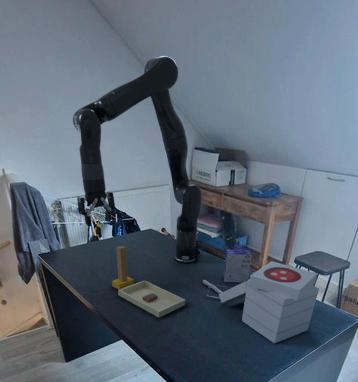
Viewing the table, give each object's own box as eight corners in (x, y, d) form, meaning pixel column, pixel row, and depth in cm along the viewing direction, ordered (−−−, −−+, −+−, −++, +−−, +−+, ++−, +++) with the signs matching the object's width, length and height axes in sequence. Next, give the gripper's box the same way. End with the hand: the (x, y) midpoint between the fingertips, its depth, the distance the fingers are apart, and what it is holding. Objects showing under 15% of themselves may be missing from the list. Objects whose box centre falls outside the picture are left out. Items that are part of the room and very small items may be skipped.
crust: (142, 299, 120) (142, 296, 119) (152, 295, 123) (152, 292, 122) (148, 302, 118) (148, 299, 117) (157, 298, 121) (157, 295, 120)
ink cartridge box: (246, 277, 141) (251, 244, 133) (248, 283, 136) (253, 248, 128) (222, 276, 141) (226, 243, 133) (224, 282, 136) (228, 248, 128)
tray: (118, 296, 123) (118, 290, 121) (144, 286, 131) (144, 280, 129) (158, 319, 110) (158, 312, 109) (185, 306, 118) (185, 299, 117)
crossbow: (242, 298, 127) (243, 293, 126) (215, 306, 121) (216, 301, 120) (216, 279, 137) (217, 275, 136) (190, 286, 132) (191, 281, 130)
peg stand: (112, 288, 129) (109, 247, 120) (127, 282, 133) (124, 243, 125) (119, 291, 126) (116, 251, 118) (134, 286, 131) (132, 246, 122)
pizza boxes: (252, 293, 128) (259, 248, 119) (316, 331, 107) (332, 279, 97) (212, 305, 119) (216, 257, 110) (273, 349, 98) (286, 294, 88)
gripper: (81, 180, 110) (88, 229, 119) (116, 175, 119) (120, 221, 128) (69, 178, 115) (77, 225, 123) (103, 173, 124) (108, 218, 132)
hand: (99, 223), depth 126 cm, fingers open, 8 cm apart
